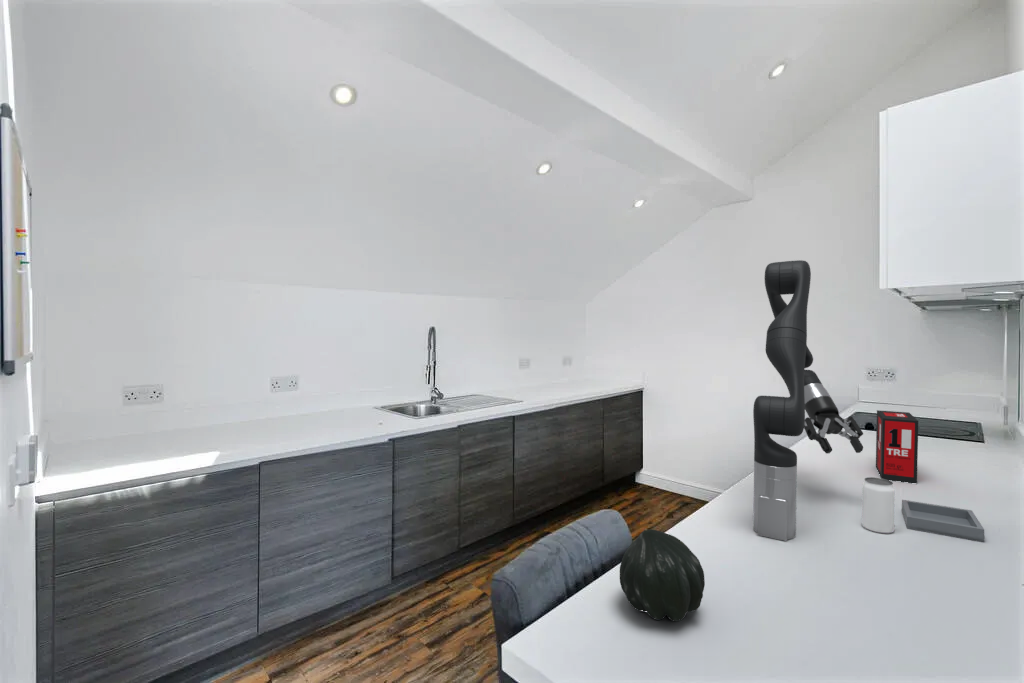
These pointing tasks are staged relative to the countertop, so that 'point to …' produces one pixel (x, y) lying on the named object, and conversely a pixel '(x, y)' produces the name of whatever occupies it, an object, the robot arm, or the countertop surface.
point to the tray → (942, 520)
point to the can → (878, 505)
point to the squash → (661, 576)
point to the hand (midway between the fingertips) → (844, 451)
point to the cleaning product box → (897, 446)
